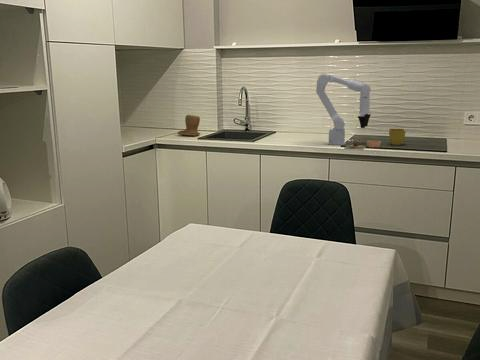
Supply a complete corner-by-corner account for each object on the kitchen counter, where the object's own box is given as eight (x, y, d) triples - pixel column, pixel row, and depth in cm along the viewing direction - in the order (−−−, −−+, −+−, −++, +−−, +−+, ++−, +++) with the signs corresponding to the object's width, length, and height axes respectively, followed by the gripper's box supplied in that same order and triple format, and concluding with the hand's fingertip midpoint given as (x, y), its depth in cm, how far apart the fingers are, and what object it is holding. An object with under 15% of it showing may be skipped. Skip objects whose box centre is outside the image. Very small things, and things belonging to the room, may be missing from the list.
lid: (347, 147, 281) (347, 141, 280) (349, 145, 289) (349, 139, 288) (362, 148, 278) (362, 141, 277) (364, 146, 286) (364, 139, 285)
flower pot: (404, 145, 286) (405, 130, 284) (389, 145, 288) (390, 130, 286) (403, 143, 295) (403, 128, 293) (388, 143, 297) (388, 128, 295)
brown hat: (204, 135, 347) (203, 114, 344) (194, 137, 337) (193, 115, 334) (186, 134, 355) (186, 113, 351) (177, 136, 345) (175, 115, 341)
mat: (344, 148, 281) (344, 147, 281) (348, 145, 291) (348, 145, 291) (363, 149, 277) (363, 149, 277) (366, 146, 286) (366, 145, 286)
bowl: (365, 147, 285) (366, 142, 284) (368, 145, 292) (368, 140, 291) (379, 147, 282) (379, 142, 281) (381, 145, 288) (381, 140, 288)
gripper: (369, 105, 281) (368, 128, 285) (373, 103, 294) (373, 125, 297) (356, 105, 284) (356, 128, 288) (361, 103, 297) (361, 125, 300)
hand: (364, 127), depth 293 cm, fingers open, 7 cm apart
